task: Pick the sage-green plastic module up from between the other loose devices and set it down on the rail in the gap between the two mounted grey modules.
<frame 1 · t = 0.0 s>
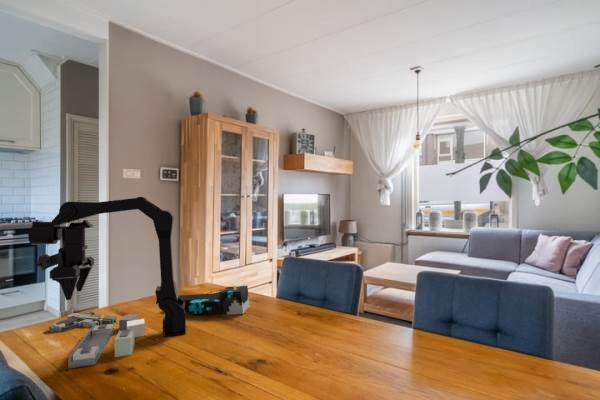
hand: (74, 295, 98), 15 cm above the table, tool pointing down, fingers open, 9 cm apart
toy: (208, 310, 129), on the table
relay: (135, 334, 105), on the table
white block: (129, 328, 110), on the table
rail: (93, 348, 96), on the table
futuristic handgun: (84, 327, 113), on the table
module: (125, 351, 94), on the table
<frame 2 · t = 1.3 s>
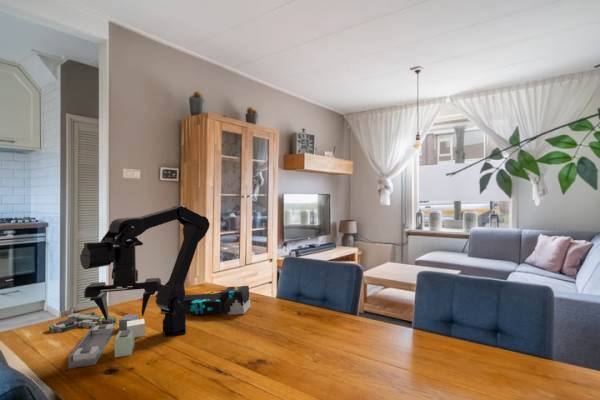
hand: (125, 317, 94), 10 cm above the table, tool pointing down, fingers open, 9 cm apart
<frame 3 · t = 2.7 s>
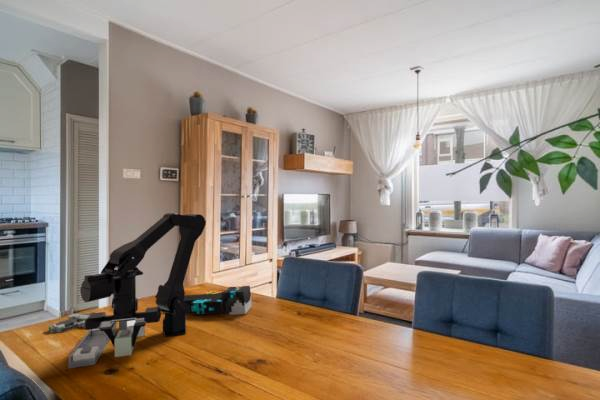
hand: (124, 347, 94), 1 cm above the table, tool pointing down, fingers closed on module, 4 cm apart
module: (125, 351, 94), on the table, touching gripper
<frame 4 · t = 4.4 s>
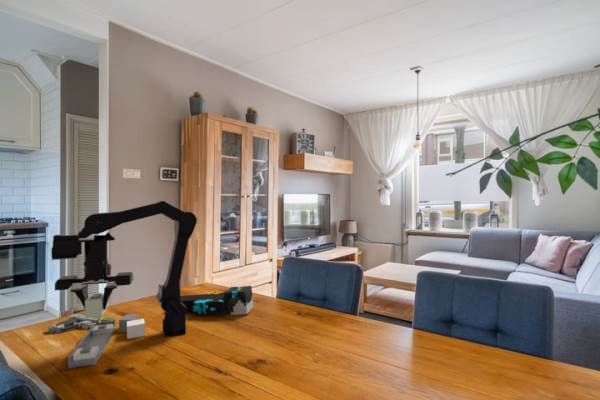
hand: (96, 310, 95), 11 cm above the table, tool pointing down, fingers closed on module, 4 cm apart
module: (96, 313, 95), point 10 cm above the table, touching gripper
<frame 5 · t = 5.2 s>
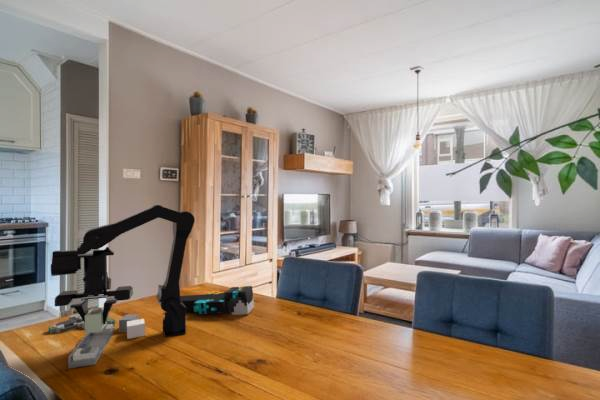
hand: (96, 324, 96), 7 cm above the table, tool pointing down, fingers closed on module, 4 cm apart
module: (96, 328, 96), point 6 cm above the table, touching gripper
when the fingers open (4 cm above the table, at t = 6.0 s): module drops 1 cm, resting on rail.
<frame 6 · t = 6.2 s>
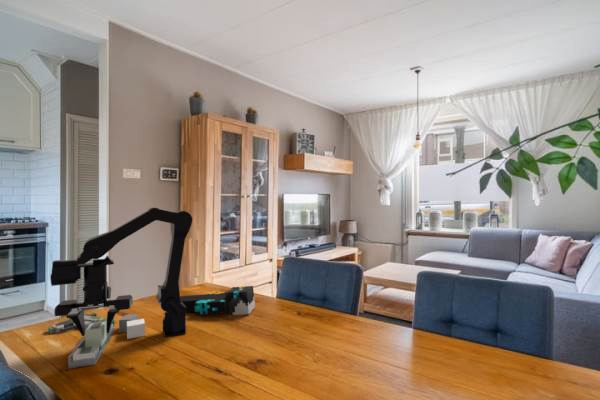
hand: (95, 334, 96), 4 cm above the table, tool pointing down, fingers open, 6 cm apart
module: (96, 342, 96), point 1 cm above the table, touching rail
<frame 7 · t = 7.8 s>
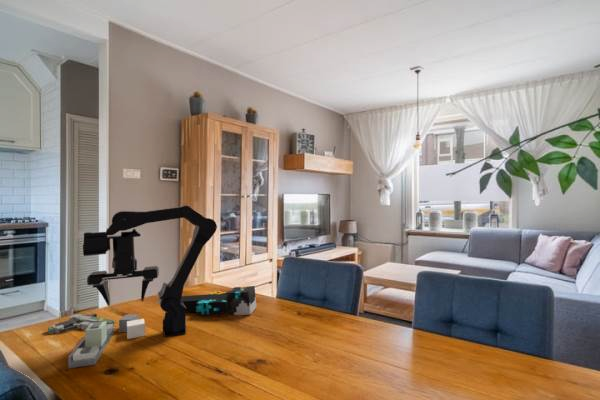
hand: (126, 303, 100), 12 cm above the table, tool pointing down, fingers open, 9 cm apart
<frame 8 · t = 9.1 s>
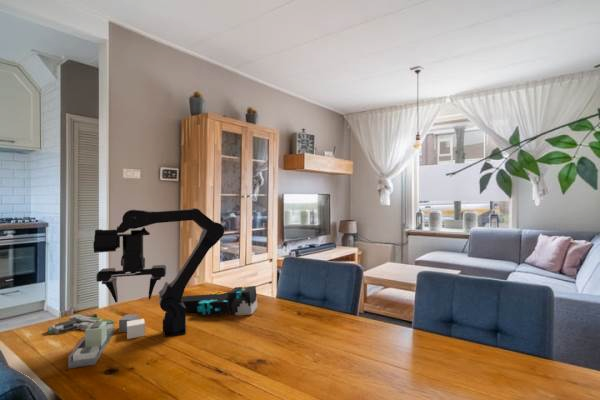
hand: (133, 300, 101), 12 cm above the table, tool pointing down, fingers open, 9 cm apart
at the end: module inside the target area on the rail (0.1 cm from its centre), point 1.5 cm above the rail's base; module tilted 0°; the gripper is holding nothing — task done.
